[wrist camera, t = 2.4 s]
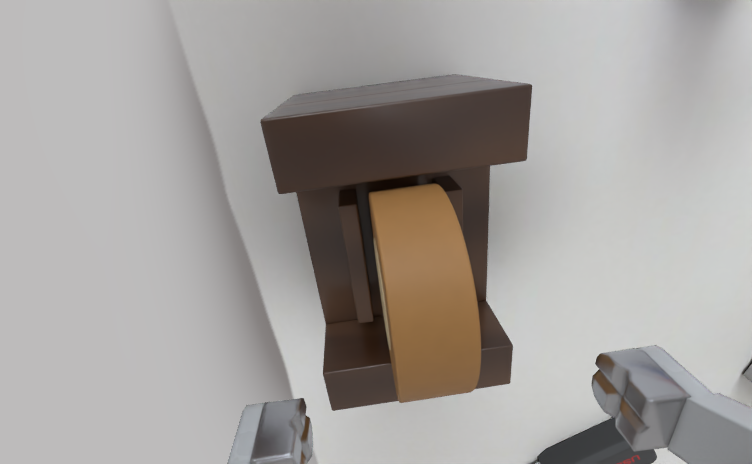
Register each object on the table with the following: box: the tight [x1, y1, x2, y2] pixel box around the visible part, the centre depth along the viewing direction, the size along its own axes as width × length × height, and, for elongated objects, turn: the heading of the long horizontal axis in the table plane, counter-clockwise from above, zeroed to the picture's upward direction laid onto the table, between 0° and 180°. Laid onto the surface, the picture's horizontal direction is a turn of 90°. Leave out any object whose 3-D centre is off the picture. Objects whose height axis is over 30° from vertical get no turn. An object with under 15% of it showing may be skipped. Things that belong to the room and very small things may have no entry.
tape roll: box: [369, 183, 481, 403], centre depth 14 cm, size 8×3×8 cm, turn 7°
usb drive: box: [535, 418, 657, 464], centre depth 35 cm, size 5×12×3 cm, turn 124°
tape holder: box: [261, 74, 532, 411], centre depth 19 cm, size 14×9×9 cm, turn 7°
